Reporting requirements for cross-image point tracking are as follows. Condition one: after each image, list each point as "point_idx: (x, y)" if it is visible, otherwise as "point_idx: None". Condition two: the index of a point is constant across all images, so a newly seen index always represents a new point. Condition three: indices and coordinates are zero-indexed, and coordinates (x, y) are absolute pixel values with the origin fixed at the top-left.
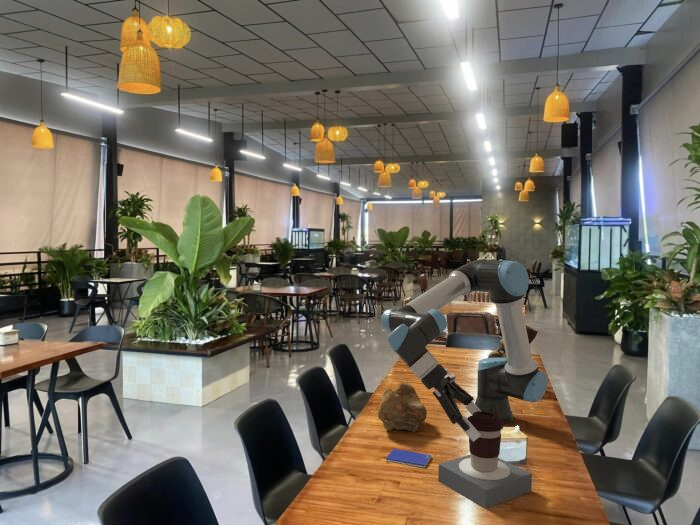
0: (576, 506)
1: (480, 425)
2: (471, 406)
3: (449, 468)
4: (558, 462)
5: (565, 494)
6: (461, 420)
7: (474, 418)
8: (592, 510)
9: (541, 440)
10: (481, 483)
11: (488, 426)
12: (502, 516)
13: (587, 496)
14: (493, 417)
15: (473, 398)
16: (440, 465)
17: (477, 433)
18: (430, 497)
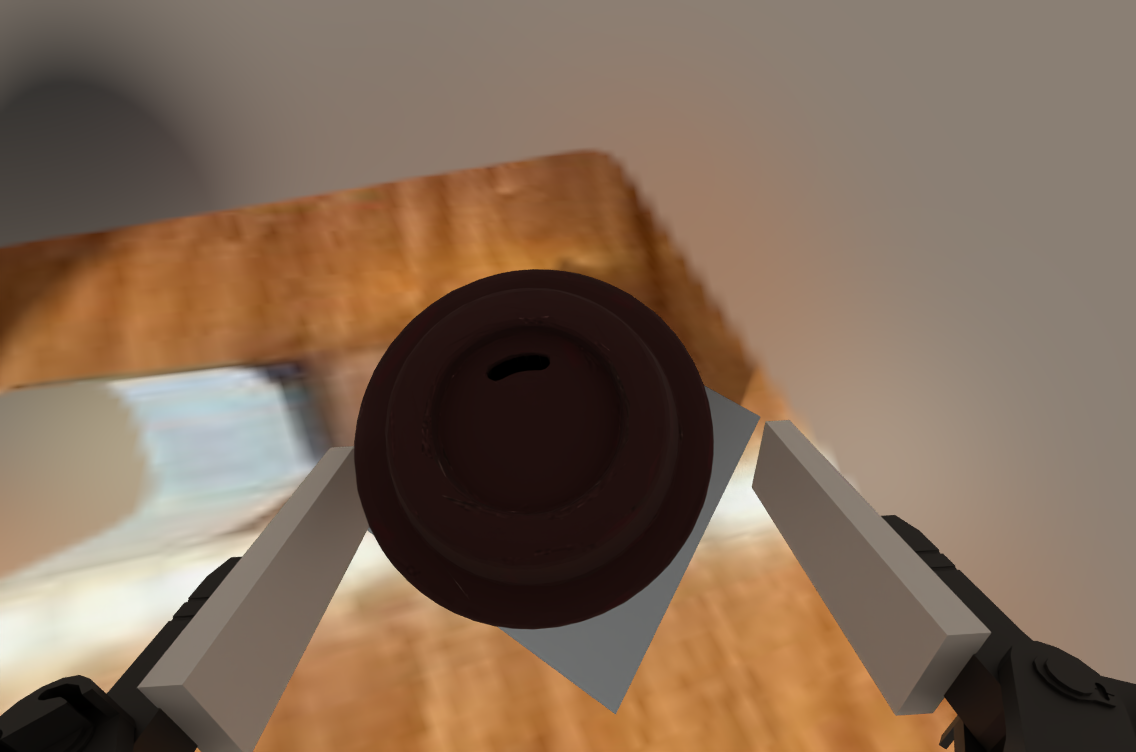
0: (567, 198)
1: (704, 434)
2: (247, 659)
3: (640, 633)
4: (258, 260)
5: (503, 227)
6: (1024, 637)
7: (642, 517)
8: (570, 165)
9: (41, 331)
10: (714, 445)
11: (688, 361)
12: (744, 372)
13: (490, 177)
14: (576, 313)
15: (45, 692)
16: (622, 697)
17: (806, 443)
18: (767, 660)
